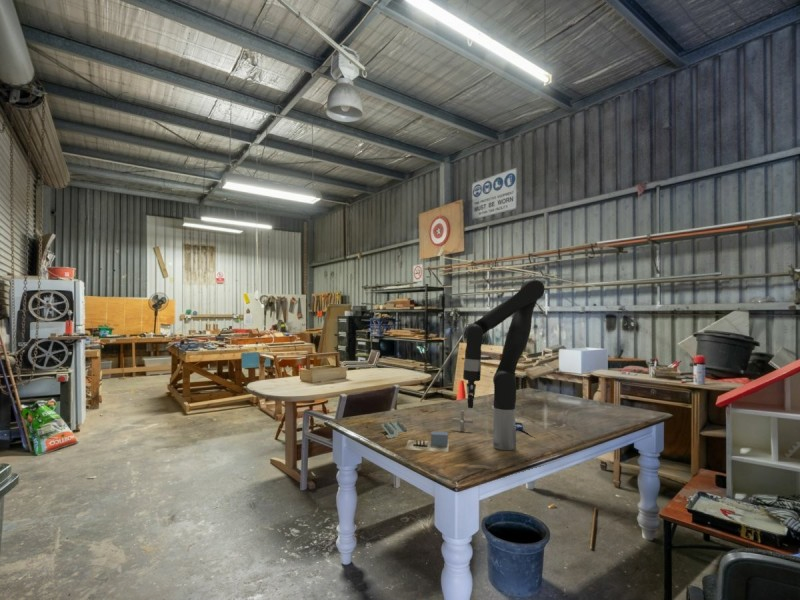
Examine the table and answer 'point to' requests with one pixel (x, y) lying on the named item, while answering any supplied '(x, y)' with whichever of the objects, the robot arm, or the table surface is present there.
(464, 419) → the grey cross-shaped piece
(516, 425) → the bar clamp
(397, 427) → the metal bracket
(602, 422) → the table surface
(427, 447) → the board
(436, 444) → the block
